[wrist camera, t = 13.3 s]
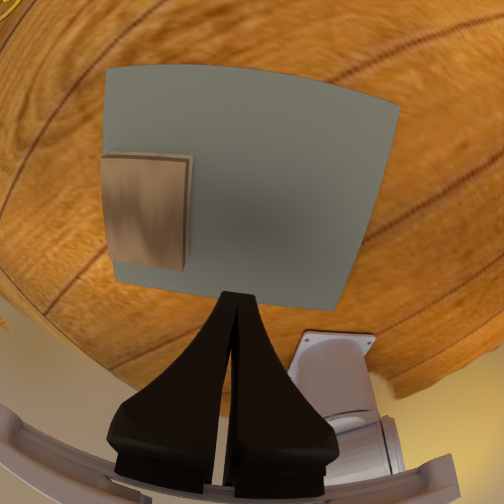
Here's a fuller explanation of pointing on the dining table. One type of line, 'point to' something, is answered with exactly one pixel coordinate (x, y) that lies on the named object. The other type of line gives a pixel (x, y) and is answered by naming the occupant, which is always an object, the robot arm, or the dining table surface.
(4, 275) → the dining table surface
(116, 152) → the tile
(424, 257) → the dining table surface
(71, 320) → the dining table surface
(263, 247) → the mat
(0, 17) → the decorative art
